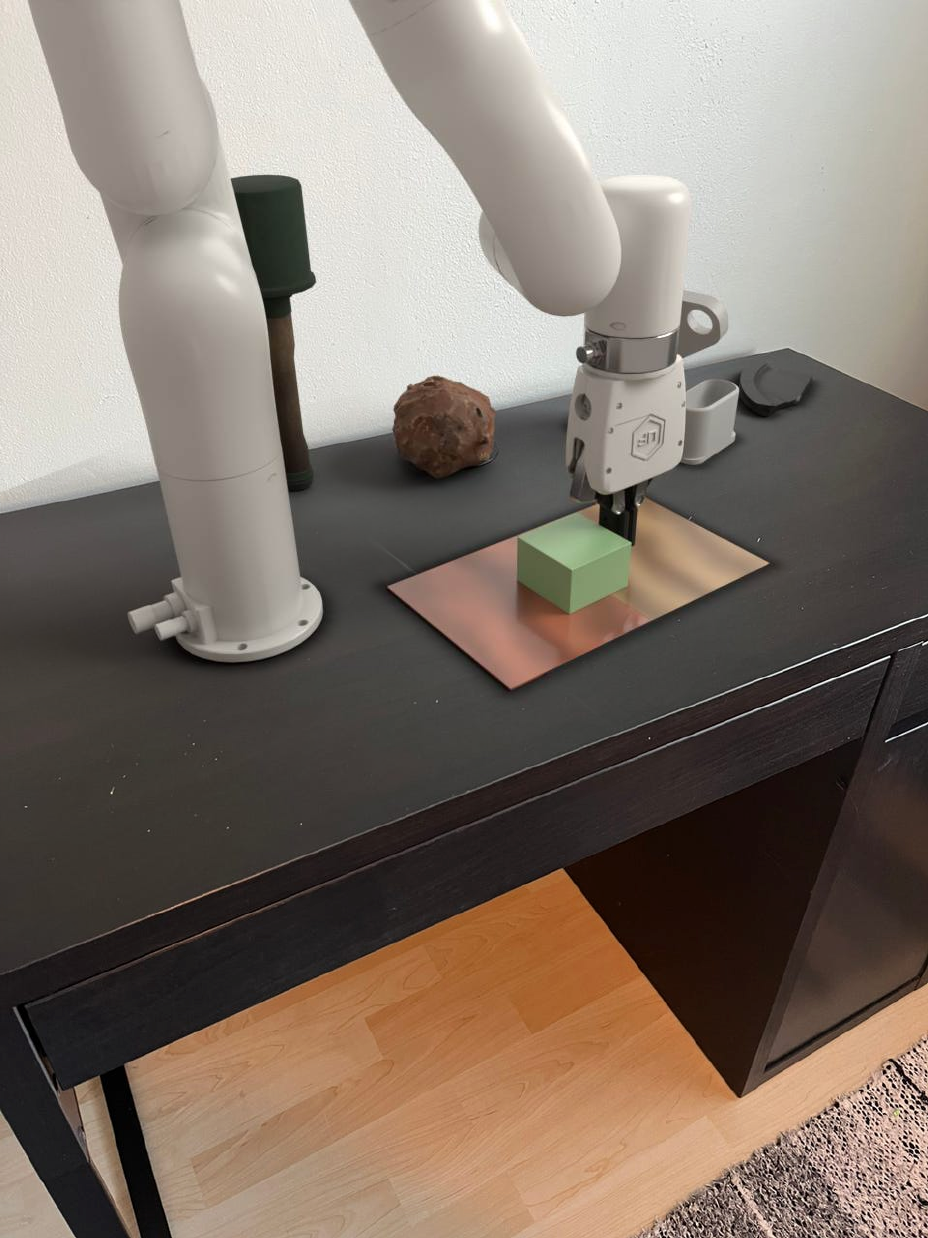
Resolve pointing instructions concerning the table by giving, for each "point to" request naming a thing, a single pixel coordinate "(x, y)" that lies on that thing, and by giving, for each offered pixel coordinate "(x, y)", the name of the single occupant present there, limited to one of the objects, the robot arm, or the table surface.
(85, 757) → the table surface
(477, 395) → the decorative rock
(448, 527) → the table surface
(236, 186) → the potato masher grenade
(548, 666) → the plate
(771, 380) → the dark sector wedge
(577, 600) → the green block
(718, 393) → the phone holder
